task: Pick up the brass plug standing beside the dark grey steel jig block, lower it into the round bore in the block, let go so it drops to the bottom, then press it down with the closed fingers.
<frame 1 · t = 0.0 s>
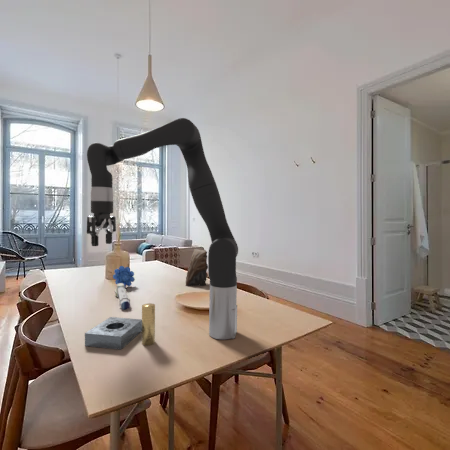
hand: (102, 244, 104), 29 cm above the table, tool pointing down, fingers open, 8 cm apart
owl: (194, 284, 166), on the table
brass plug: (148, 342, 90), on the table
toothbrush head: (122, 302, 132), on the table
blue flower: (124, 288, 155), on the table
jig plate: (115, 337, 93), on the table
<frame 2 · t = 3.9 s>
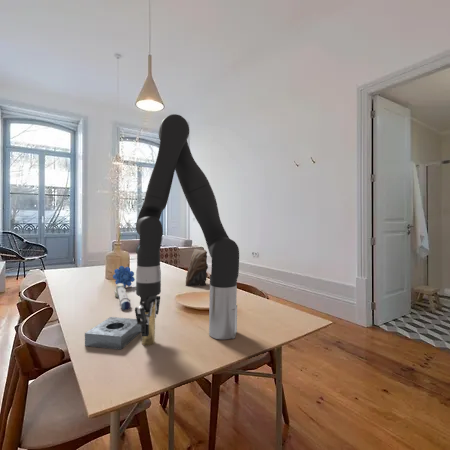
hand: (148, 332, 90), 3 cm above the table, tool pointing down, fingers closed on brass plug, 4 cm apart
brass plug: (148, 342, 90), on the table, touching gripper
everything else where it was.
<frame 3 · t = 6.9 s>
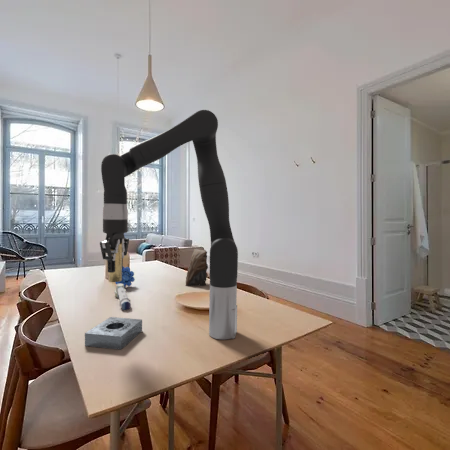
hand: (115, 270, 92), 22 cm above the table, tool pointing down, fingers closed on brass plug, 4 cm apart
brass plug: (115, 280, 93), point 19 cm above the table, touching gripper
everything else where it was.
when the fingers open (5 cm above the table, at t = 9.9 s): brass plug drops 2 cm, resting in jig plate.
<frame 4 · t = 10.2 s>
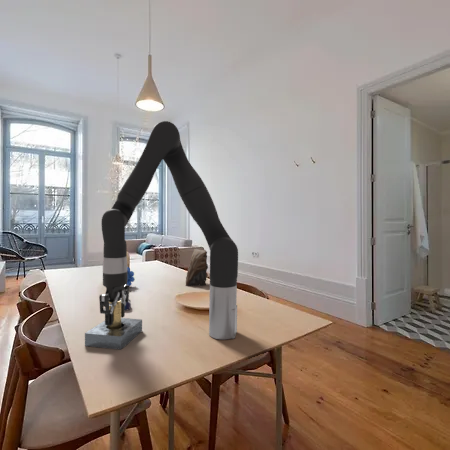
hand: (115, 320, 93), 6 cm above the table, tool pointing down, fingers open, 6 cm apart
brass plug: (115, 338, 93), resting in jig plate
everything else where it was.
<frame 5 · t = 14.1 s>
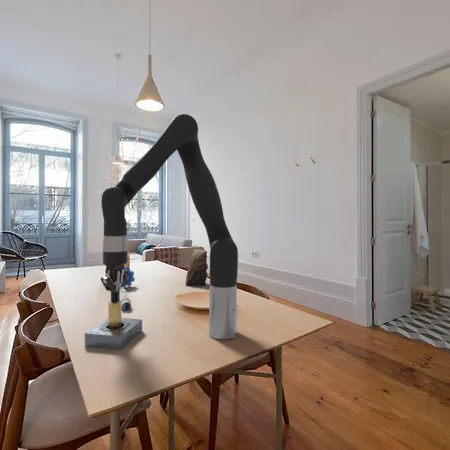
hand: (115, 302, 93), 12 cm above the table, tool pointing down, fingers closed
brass plug: (115, 338, 93), resting in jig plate, touching gripper
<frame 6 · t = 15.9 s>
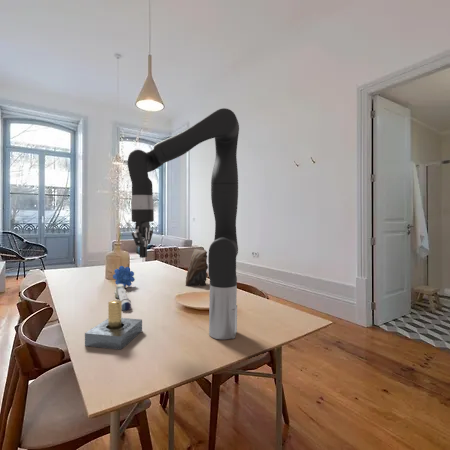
hand: (143, 257, 101), 25 cm above the table, tool pointing down, fingers closed
brass plug: (115, 338, 93), resting in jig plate
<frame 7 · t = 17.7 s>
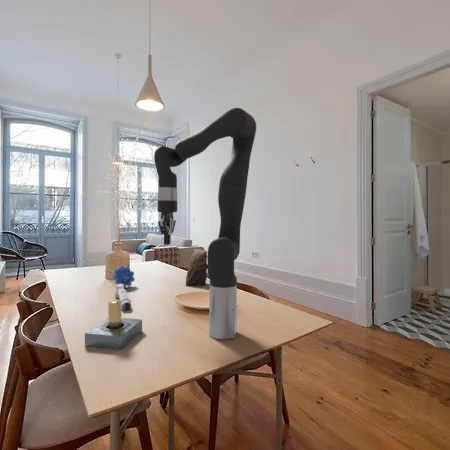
hand: (167, 244, 110), 29 cm above the table, tool pointing down, fingers closed
at the end: brass plug 0.1 cm off-centre on the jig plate, point 0.0 cm above the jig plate's base; brass plug tilted 0°; the gripper is holding nothing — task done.
